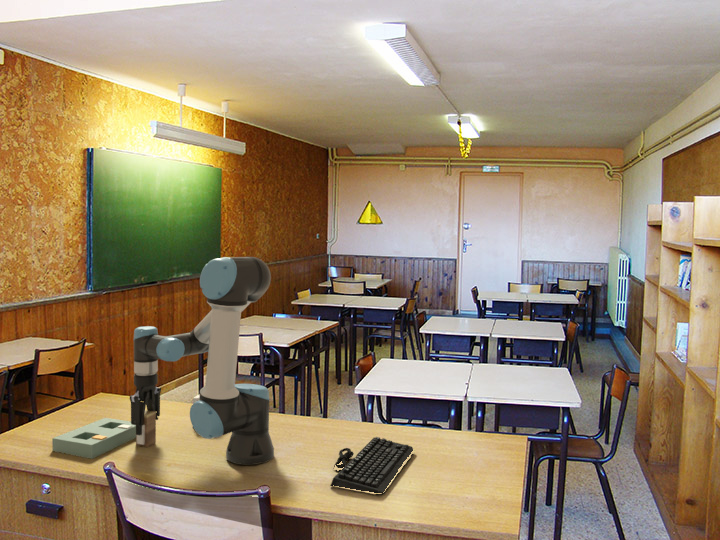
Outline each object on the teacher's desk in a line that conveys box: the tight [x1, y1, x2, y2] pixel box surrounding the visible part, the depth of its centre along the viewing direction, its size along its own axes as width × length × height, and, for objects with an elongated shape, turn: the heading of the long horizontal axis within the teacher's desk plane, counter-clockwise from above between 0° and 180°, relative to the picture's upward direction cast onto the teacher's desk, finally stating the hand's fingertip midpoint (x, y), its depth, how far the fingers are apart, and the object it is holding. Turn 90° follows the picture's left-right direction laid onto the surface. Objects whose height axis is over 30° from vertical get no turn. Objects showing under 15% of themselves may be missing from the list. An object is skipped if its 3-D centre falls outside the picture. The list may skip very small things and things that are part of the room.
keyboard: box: [329, 436, 414, 493], centre depth 196 cm, size 37×22×5 cm, turn 160°
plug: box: [135, 409, 157, 448], centre depth 211 cm, size 5×5×11 cm
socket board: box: [51, 417, 136, 460], centre depth 212 cm, size 16×24×5 cm, turn 161°
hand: (145, 441), depth 211 cm, fingers closed on plug, 4 cm apart
